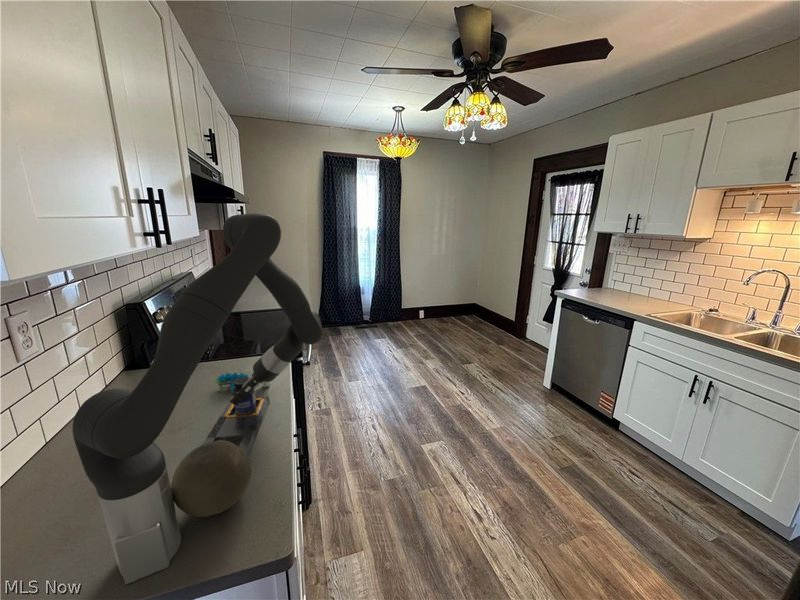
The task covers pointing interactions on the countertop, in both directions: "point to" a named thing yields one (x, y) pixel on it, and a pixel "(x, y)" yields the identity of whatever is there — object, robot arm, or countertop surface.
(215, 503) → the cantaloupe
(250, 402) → the pill bottle
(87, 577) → the countertop surface
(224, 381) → the blue branched piece
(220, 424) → the grey rectangular tray
